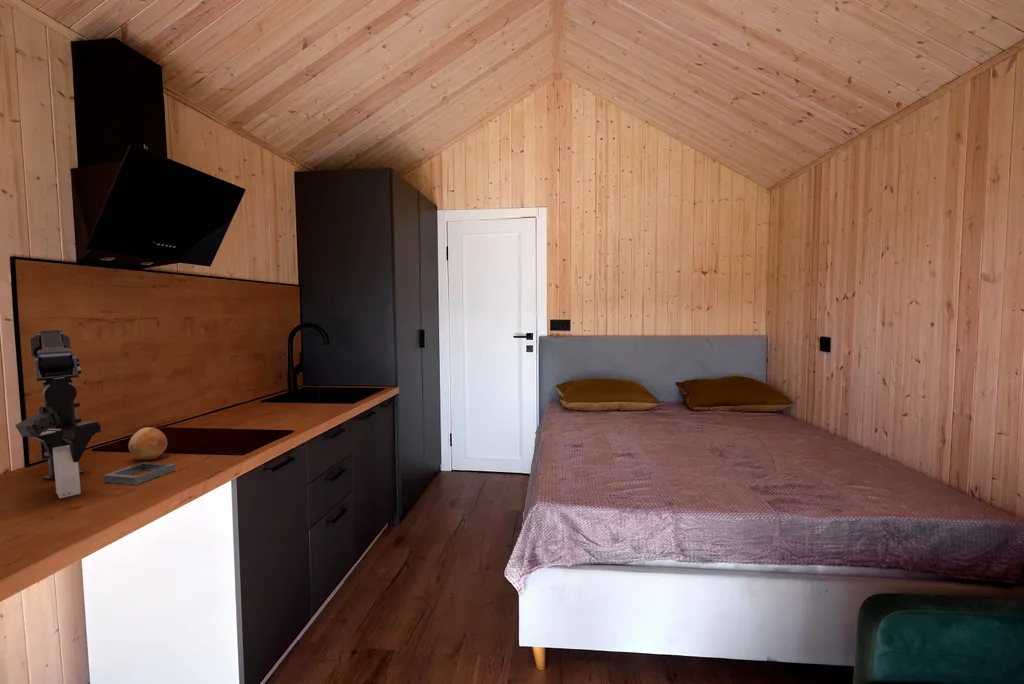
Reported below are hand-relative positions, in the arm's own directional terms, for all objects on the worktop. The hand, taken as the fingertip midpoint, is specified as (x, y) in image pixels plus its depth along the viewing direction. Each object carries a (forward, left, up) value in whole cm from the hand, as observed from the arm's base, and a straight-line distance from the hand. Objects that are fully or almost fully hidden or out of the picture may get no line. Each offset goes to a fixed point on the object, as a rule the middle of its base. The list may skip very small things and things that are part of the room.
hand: (65, 461), depth 125 cm
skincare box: (0, 0, -9) cm, 9 cm away
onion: (-7, +27, -9) cm, 29 cm away
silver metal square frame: (+6, +14, -9) cm, 18 cm away
